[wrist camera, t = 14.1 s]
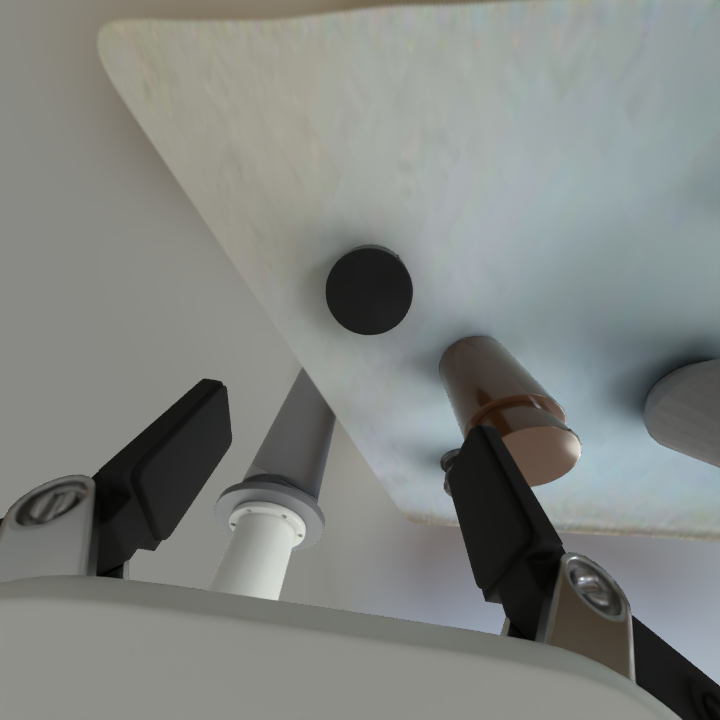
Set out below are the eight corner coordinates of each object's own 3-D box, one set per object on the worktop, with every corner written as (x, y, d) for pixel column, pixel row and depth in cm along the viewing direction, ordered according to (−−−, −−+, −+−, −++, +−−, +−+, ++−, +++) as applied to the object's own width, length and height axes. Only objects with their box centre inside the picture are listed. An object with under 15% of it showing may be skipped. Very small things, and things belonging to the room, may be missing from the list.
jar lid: (365, 224, 22) (363, 225, 20) (426, 281, 24) (432, 289, 22) (316, 291, 25) (308, 300, 23) (373, 337, 27) (373, 350, 25)
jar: (467, 402, 30) (516, 505, 20) (425, 367, 29) (452, 460, 18) (521, 363, 27) (614, 458, 17) (477, 321, 26) (550, 398, 15)
